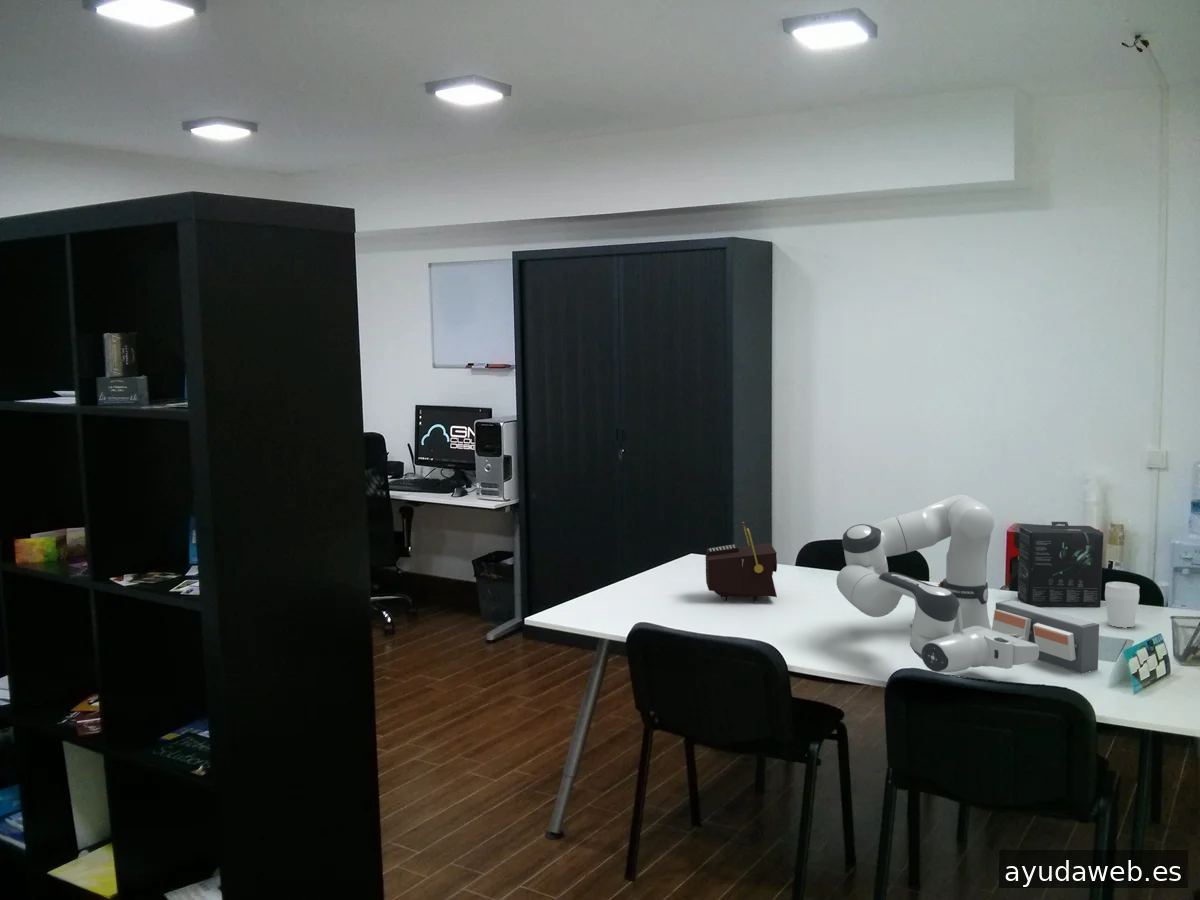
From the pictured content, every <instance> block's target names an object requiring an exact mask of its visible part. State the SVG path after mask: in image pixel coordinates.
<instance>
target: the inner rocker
mask: <svg viewBox="0 0 1200 900" xmlns="http://www.w3.org/2000/svg"><path fill="white" fill-rule="evenodd" d="M993 612H994V613H993V618H992V625H991V630H994V631H997V632H1000V633H1003V634H1009V635H1013V634H1018V635H1021V636H1024V637H1026V641H1028V639H1029V633H1030V634H1032V631H1030V626H1031V619H1029V618H1026V617H1022V616H1019V615H1015V614H1012V613H1009V612H1005V611H1002V610H996V609H994V611H993Z"/></svg>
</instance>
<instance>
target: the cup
mask: <svg viewBox="0 0 1200 900" xmlns="http://www.w3.org/2000/svg"><path fill="white" fill-rule="evenodd" d="M1104 588H1105V590H1104V600H1105V609H1106V617H1107V622H1108V625H1109V626H1110V625H1112V626H1116V627H1126V628H1125V629H1128V628H1127V627H1132V628H1134V627H1133V626H1135V622H1136V616H1137V612H1138V606H1139V602H1140V585H1138V584H1136V583H1131V582H1127V581H1126V582H1125V581H1109V582H1106V583H1105V586H1104ZM1112 626H1111V627H1112ZM1116 627H1115V628H1116Z"/></svg>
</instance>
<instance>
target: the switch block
mask: <svg viewBox="0 0 1200 900" xmlns="http://www.w3.org/2000/svg"><path fill="white" fill-rule="evenodd" d="M995 610H1002V611H1005V612H1009V613H1012V614H1015V615H1019V616H1022V617H1026V618H1029V619H1031V626H1030V631H1032V634H1030V633H1029V639H1028V642H1031V643H1034V644H1035V637H1034V628H1033V625H1034V624H1036V623H1039V624H1043V625H1046V626H1050V627H1053V628H1056V629H1060V630H1063V631H1067V632H1070V633H1073V636H1074V644H1076V645H1077V648H1075V656H1076V659H1075V660H1073V661H1070V660H1066V659H1063V658H1060V657H1057V656H1054V655H1051V654H1048V653H1045V652H1042V651H1039V657H1038V659H1037V660H1039V661H1043V662H1044V663H1045V662H1046V663H1047V664H1051V665H1054V666H1057V667H1059V668H1060V667H1061V668H1063V669H1066V670H1069V671H1072V672H1075V673H1078V674H1081V675H1083V674H1086V672H1087V673H1090V672H1089V671H1091V672H1093V671H1094V670H1095V671H1098V670H1099V639H1100V623H1095V622H1094V621H1090V620H1085V619H1083V618H1078V617H1075V616H1072V615H1067V614H1065V613H1064V614H1063V613H1061V612H1057V611H1053V610H1049V609H1046V608H1042V607H1040V606H1032V605H1028V604H1025V603H1023V602H1022V601H1016V600H1013V599H1010V600H1004V601H1000V602H995ZM1095 671H1094V672H1095ZM1082 673H1083V674H1082Z"/></svg>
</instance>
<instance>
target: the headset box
mask: <svg viewBox="0 0 1200 900" xmlns="http://www.w3.org/2000/svg"><path fill="white" fill-rule="evenodd" d="M1018 539H1019V543H1018V567H1017V569H1018V571H1017V599H1018V600H1019V601H1020V602H1021V603H1025V604H1028V605H1032V606H1035V607H1073V606H1074V607H1075V606H1078V607H1081V608H1083V607H1085V608H1093V607H1094V608H1101V603H1102V600H1101V599H1102V597H1101V596H1102V578H1103V577H1102V575H1103V557H1104V556H1103V555H1104V554H1103V553H1104V532H1103V531H1101V530H1099V529H1096V528H1094V527H1093V526H1091V525H1069V523H1068V521H1051V525H1050V524H1049V525H1046V524H1036V525H1035V524H1027V525H1026V524H1020V526H1019V536H1018Z"/></svg>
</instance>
